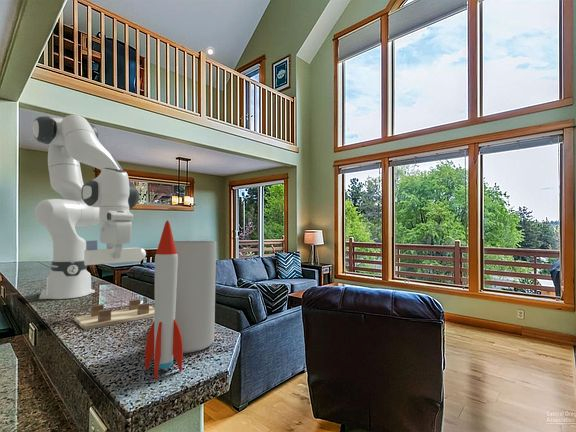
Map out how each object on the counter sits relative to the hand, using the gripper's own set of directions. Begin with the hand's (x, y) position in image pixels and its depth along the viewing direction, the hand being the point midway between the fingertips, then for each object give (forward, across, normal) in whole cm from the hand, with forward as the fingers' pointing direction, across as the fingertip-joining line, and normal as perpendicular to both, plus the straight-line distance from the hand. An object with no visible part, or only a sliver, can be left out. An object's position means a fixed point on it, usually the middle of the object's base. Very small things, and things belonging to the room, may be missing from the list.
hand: (113, 257), depth 105 cm
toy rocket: (+20, +52, -6) cm, 56 cm away
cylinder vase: (+19, +42, +4) cm, 47 cm away
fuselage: (+2, 0, +1) cm, 2 cm away
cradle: (+18, +8, 0) cm, 20 cm away
